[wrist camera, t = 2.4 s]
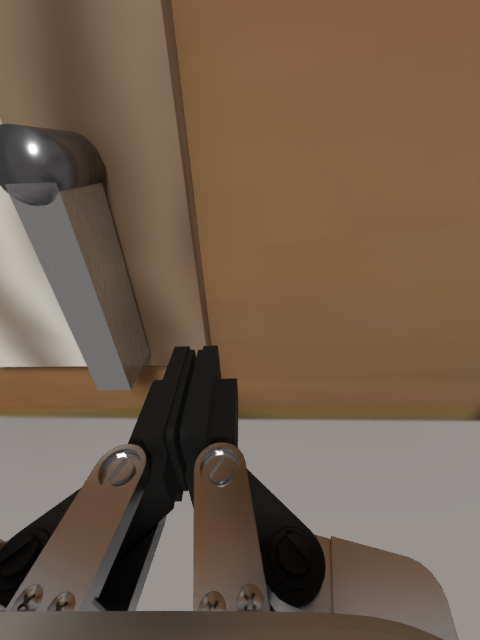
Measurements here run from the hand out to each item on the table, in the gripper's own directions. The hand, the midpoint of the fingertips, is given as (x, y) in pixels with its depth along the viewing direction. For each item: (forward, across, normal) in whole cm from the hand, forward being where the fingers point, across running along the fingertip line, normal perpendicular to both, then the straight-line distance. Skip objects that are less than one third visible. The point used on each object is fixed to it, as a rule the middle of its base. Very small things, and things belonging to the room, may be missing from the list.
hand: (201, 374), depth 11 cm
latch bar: (+7, +6, -2) cm, 9 cm away
